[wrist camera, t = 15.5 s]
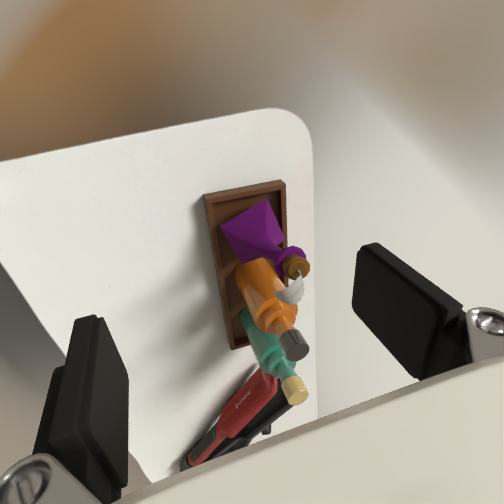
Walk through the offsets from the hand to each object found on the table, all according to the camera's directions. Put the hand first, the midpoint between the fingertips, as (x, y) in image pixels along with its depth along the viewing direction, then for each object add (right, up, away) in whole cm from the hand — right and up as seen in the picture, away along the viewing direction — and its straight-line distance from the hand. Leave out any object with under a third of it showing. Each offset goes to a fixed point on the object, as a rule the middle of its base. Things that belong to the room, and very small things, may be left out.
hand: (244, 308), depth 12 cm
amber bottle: (0, -1, +42) cm, 42 cm away
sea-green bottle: (+1, -9, +47) cm, 48 cm away
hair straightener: (-4, -35, +61) cm, 70 cm away
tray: (0, -1, +43) cm, 42 cm away
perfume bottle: (0, +6, +37) cm, 38 cm away
